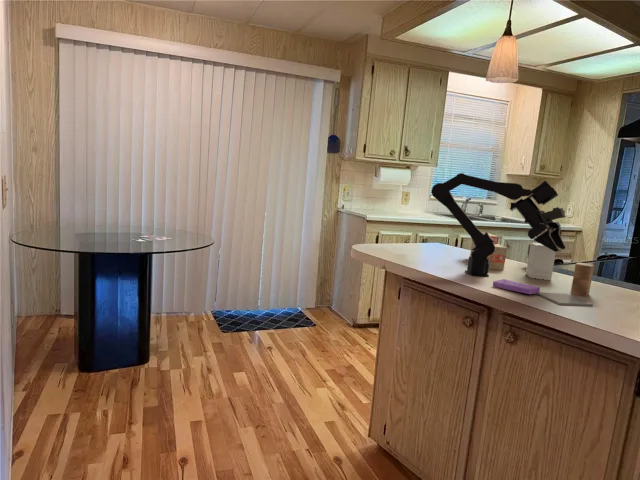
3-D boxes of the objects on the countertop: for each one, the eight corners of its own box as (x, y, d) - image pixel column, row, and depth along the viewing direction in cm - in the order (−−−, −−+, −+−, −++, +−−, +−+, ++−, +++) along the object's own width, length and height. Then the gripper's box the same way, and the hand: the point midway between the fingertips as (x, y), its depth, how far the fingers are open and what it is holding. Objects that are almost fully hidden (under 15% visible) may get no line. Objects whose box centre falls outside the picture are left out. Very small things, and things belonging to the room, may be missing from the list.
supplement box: (551, 280, 163) (557, 247, 161) (530, 278, 164) (535, 244, 162) (545, 276, 170) (551, 244, 168) (525, 273, 172) (530, 241, 170)
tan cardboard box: (504, 270, 176) (508, 240, 174) (488, 269, 175) (493, 238, 173) (483, 259, 197) (487, 232, 195) (469, 258, 196) (473, 231, 195)
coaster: (559, 304, 130) (559, 303, 130) (536, 294, 141) (536, 292, 141) (592, 306, 132) (593, 304, 132) (567, 295, 142) (567, 293, 142)
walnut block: (570, 293, 146) (575, 263, 144) (573, 291, 149) (578, 262, 147) (586, 296, 143) (591, 266, 141) (588, 294, 146) (594, 265, 145)
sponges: (503, 284, 151) (503, 278, 151) (540, 292, 141) (540, 286, 141) (492, 286, 146) (492, 280, 146) (529, 294, 137) (530, 288, 136)
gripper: (543, 198, 143) (576, 237, 137) (558, 198, 157) (588, 234, 151) (515, 219, 149) (545, 257, 144) (531, 217, 163) (559, 252, 158)
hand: (560, 250), depth 149 cm, fingers open, 9 cm apart
